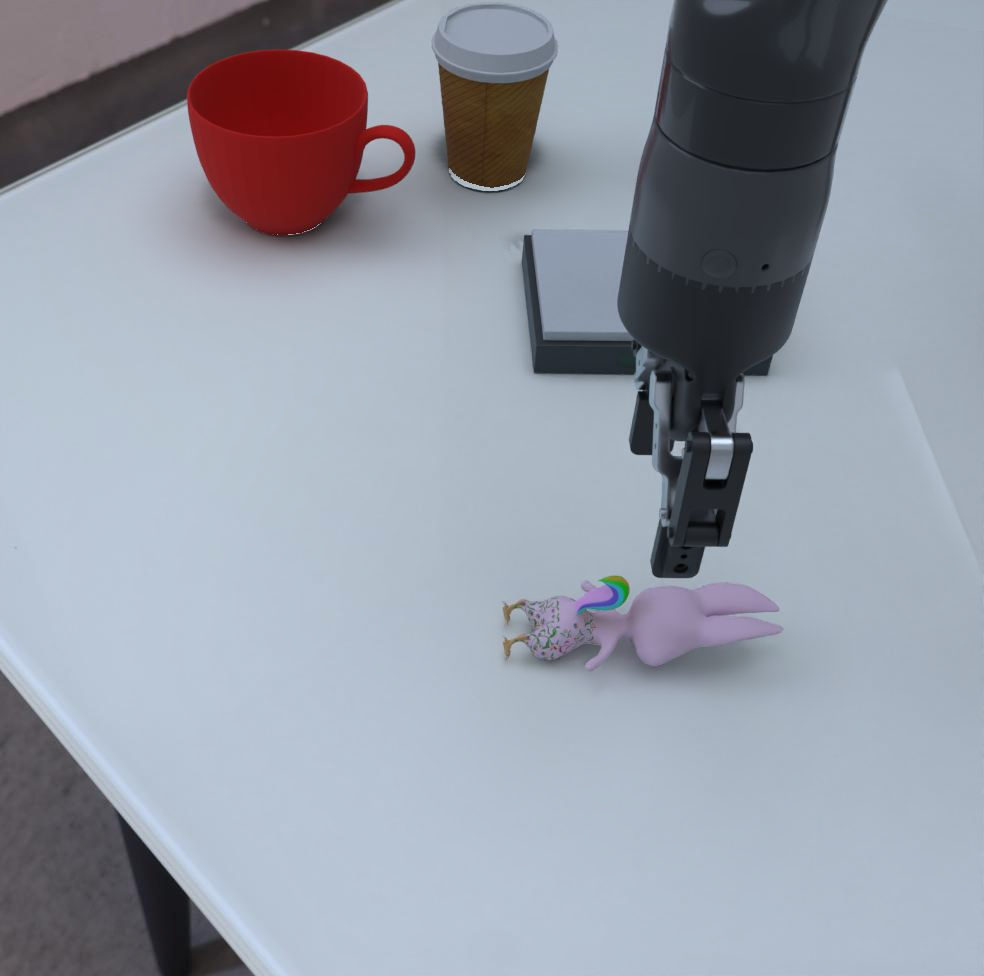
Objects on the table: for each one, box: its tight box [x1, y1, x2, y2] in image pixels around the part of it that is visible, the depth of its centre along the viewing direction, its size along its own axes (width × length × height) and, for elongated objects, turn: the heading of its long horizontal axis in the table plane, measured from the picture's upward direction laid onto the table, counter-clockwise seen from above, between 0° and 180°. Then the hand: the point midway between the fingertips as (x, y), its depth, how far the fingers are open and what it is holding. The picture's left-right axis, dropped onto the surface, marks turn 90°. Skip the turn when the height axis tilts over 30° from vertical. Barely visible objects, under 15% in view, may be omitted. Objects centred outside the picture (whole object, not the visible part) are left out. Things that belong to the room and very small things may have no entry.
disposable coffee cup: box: [431, 1, 559, 188], centre depth 102 cm, size 10×10×12 cm
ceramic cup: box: [186, 48, 416, 236], centre depth 97 cm, size 13×17×10 cm
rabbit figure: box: [501, 575, 784, 672], centre depth 70 cm, size 6×6×15 cm
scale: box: [521, 228, 774, 376], centre depth 92 cm, size 16×13×3 cm
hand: (660, 508), depth 65 cm, fingers open, 8 cm apart
